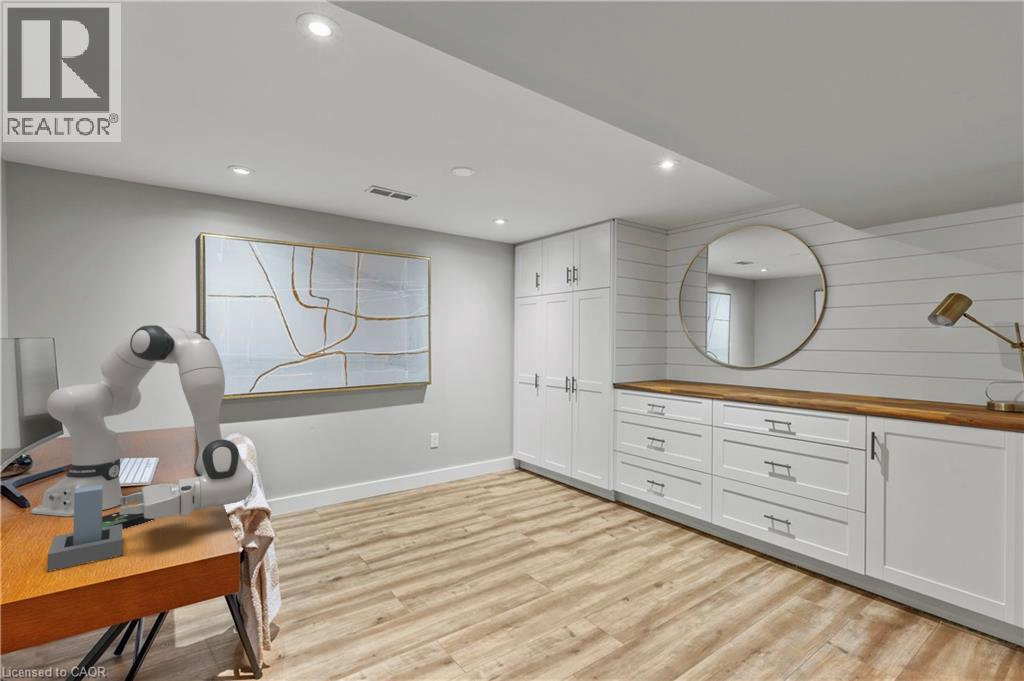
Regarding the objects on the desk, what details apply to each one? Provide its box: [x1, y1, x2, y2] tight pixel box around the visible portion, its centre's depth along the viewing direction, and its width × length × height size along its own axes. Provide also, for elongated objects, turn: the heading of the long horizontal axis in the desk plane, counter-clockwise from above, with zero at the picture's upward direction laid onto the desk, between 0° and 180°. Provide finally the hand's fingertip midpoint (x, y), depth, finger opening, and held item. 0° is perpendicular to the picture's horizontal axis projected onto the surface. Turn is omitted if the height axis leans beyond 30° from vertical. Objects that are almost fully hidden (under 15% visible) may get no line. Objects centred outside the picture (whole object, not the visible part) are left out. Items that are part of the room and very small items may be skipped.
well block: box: [46, 524, 124, 572], centre depth 115 cm, size 13×13×4 cm
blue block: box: [73, 485, 103, 546], centre depth 115 cm, size 5×5×16 cm
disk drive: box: [102, 511, 156, 530], centre depth 134 cm, size 10×3×15 cm
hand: (119, 505), depth 119 cm, fingers open, 8 cm apart
